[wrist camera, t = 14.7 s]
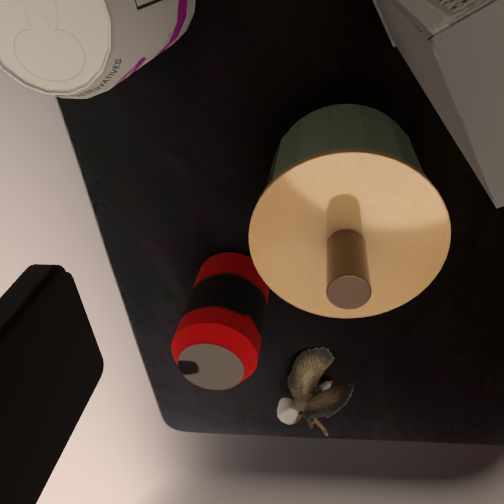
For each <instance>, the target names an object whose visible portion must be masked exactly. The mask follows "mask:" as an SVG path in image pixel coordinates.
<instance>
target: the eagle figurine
mask: <svg viewBox="0 0 504 504" xmlns="http://www.w3.org/2000/svg"><path fill="white" fill-rule="evenodd" d="M334 359H335V358H334V357H333V356H332V353H331V352H329V349H327V348H326V349H325V348H324V347H320V348H317V347H315V348H313V349H312V350H310V349H308V350H307V351H303V352H302V353H300V355H298V356H297V358H296V359H295V361H294V364H293V366H292V370H291V373H290V376H288V380H287V382H288V384H287V385H288V388H289V389H290V392H291V393H292V396H293V397H294V398H281V399H280V401H279V404H278V408H277V416H278V418H279V419H280V421H282V422H283V423H286V424H293V423H294V424H295V423H296V422H297V421H298V420H299V419H300V418H301V417H303V416H304V418H305V419H306V420H307V421H308V424H309V428H310V429H311V428H312V427H313V425H314V422H315V423H316V424H317V425H318V426H319V427H320V428H321V430H322V431H323V433H324V434H325V435H326V436H328V432H327V429H326V428H325V426H324V425H323V423H322V422H321V421H320V420H319V419H318V418H317V417H327V418H328V417H329V416H332V414H335V412H338V411H339V410H340V409H341V408H342V407H343V406H345V405H346V403H347V401H348V400H349V397H350V396H351V394H352V393H351V392H352V391H353V389H354V387H353V385H350V383H348V384H345V385H341V386H336V387H331V388H330V386H331V383H332V380H330V381H325V382H323V383H322V384H321V385H319V386H317V384H318V381H319V379H320V378H321V376H322V375H323V373H324V371H325V370H326V369H327V368H328V367H329V365H330V364H331V363H332V362H333V361H334Z"/></svg>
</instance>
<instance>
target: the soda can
mask: <svg viewBox="0 0 504 504" xmlns="http://www.w3.org/2000/svg"><path fill="white" fill-rule="evenodd" d="M269 289H270V287H269V286H268V285H267V284H266V283H265V282H264V280H263V279H262V277H261V276H260V275H259V273H258V271H257V269H256V267H255V265H254V263H253V260H252V258H251V257H249V256H247V255H244V254H240V253H235V252H225V253H219V254H216V255H214V256H212V257H210V258H208V259H207V260H206V261H205V262H204V263H203V265H202V266H201V268H200V270H199V273H198V276H197V278H196V281H195V283H194V286H193V289H192V291H191V294H190V297H189V299H188V302H187V304H186V307H185V310H184V312H183V315H182V317H181V320H180V323H179V325H178V328H177V331H176V333H175V336H174V338H173V341H172V349H171V350H172V354H173V357H174V359H175V361H176V363H177V365H178V366H179V369H180V371H181V373H182V374H183V375H184V377H185V378H187V379H188V380H189V381H190V382H192V383H194V384H195V385H198V386H200V387H203V388H206V389H211V390H224V389H229V388H231V387H234V386H236V385H237V384H238V383H239V382H241V381H243V380H245V379H246V378H248V377H249V376H250V375H251V374H252V373H253V372H254V371H255V369H256V367H257V362H258V356H259V350H260V344H261V338H262V332H263V326H264V320H265V314H266V308H267V301H268V295H269Z"/></svg>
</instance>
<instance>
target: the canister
mask: <svg viewBox="0 0 504 504" xmlns="http://www.w3.org/2000/svg"><path fill="white" fill-rule="evenodd" d="M342 148H365V149H371V150H377V151H381V152H385V153H388V154H391V155H394V156H396V157H398V158H401V159H403V160H405V161H407V162H408V163H410V164H412V165H413V166H415V167H416V168H418V169H419V170H420V171H421V172H422V173H423V171H422V169H421V166H420V164H419V161H418V159H417V156H416V154H415V151H414V149H413V146H412V144H411V141H410V139H409V137H408V135H407V134H406V133H405V132H404V131H403V130H402V128H401V127H400V126H399V125H398V124H397V123H396V122H395V121H394V120H393V119H392V118H390V117H389V116H387V115H386V114H384V113H382V112H380V111H378V110H376V109H374V108H370V107H367V106H363V105H357V104H337V105H331V106H327V107H323V108H321V109H318V110H315V111H313V112H311V113H309V114H308V115H306V116H304V117H303V118H302V119H300V120H299V121H298V122H296V123H295V124H294V125H293V126H292V127H291V128H290V129H289V131H288V132H287V133H286V134H285V136H284V137H283V138H282V139H281V141H280V144H279V146H278V148H277V151H276V154H275V157H274V159H273V162H272V165H271V169H270V174H269V178H268V182H267V186H268V184H269V183H270V182H271V181H272V180H273V179H274V178H275V177H276V176H277V175H278V174H280V173H281V172H282V171H283V170H284V169H286V168H287V167H289V166H291V165H292V164H294V163H295V162H297V161H299V160H301V159H303V158H306V157H308V156H311V155H314V154H317V153H320V152H323V151H328V150H333V149H342ZM267 186H266V187H267Z"/></svg>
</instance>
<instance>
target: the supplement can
mask: <svg viewBox="0 0 504 504" xmlns="http://www.w3.org/2000/svg"><path fill="white" fill-rule="evenodd" d="M194 12H195V0H0V68H1V69H2V70H3V71H4V72H6V73H7V74H8V75H10V76H11V77H13V78H14V79H15V80H16V81H18V82H19V83H20V84H22V85H23V86H26V87H28V88H31V89H33V90H36V91H39V92H41V93H44V94H46V95H55V96H57V97H60V98H75V99H87V98H90V97H92V96H95V95H98V94H100V93H103V92H105V91H108V90H110V89H111V88H112V87H114V86H115V85H117V84H118V83H119V82H121V81H122V80H124V79H125V78H126V77H128V76H129V75H131V74H132V73H133V72H135V71H136V70H138V69H139V68H140V67H142V66H143V65H145V64H146V63H147V62H149V61H150V60H152V59H153V58H154V57H156V56H157V55H159V54H160V53H161V52H163V51H164V50H166V49H167V48H168V47H170V46H171V45H173V44H174V43H175V42H176V41H177V40H178V39H179V38H180V37H181V36H182V35H183V34H184V33H185V32H186V31H187V28H188V26H189V24H190V21H191V19H192V17H193V14H194Z"/></svg>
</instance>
